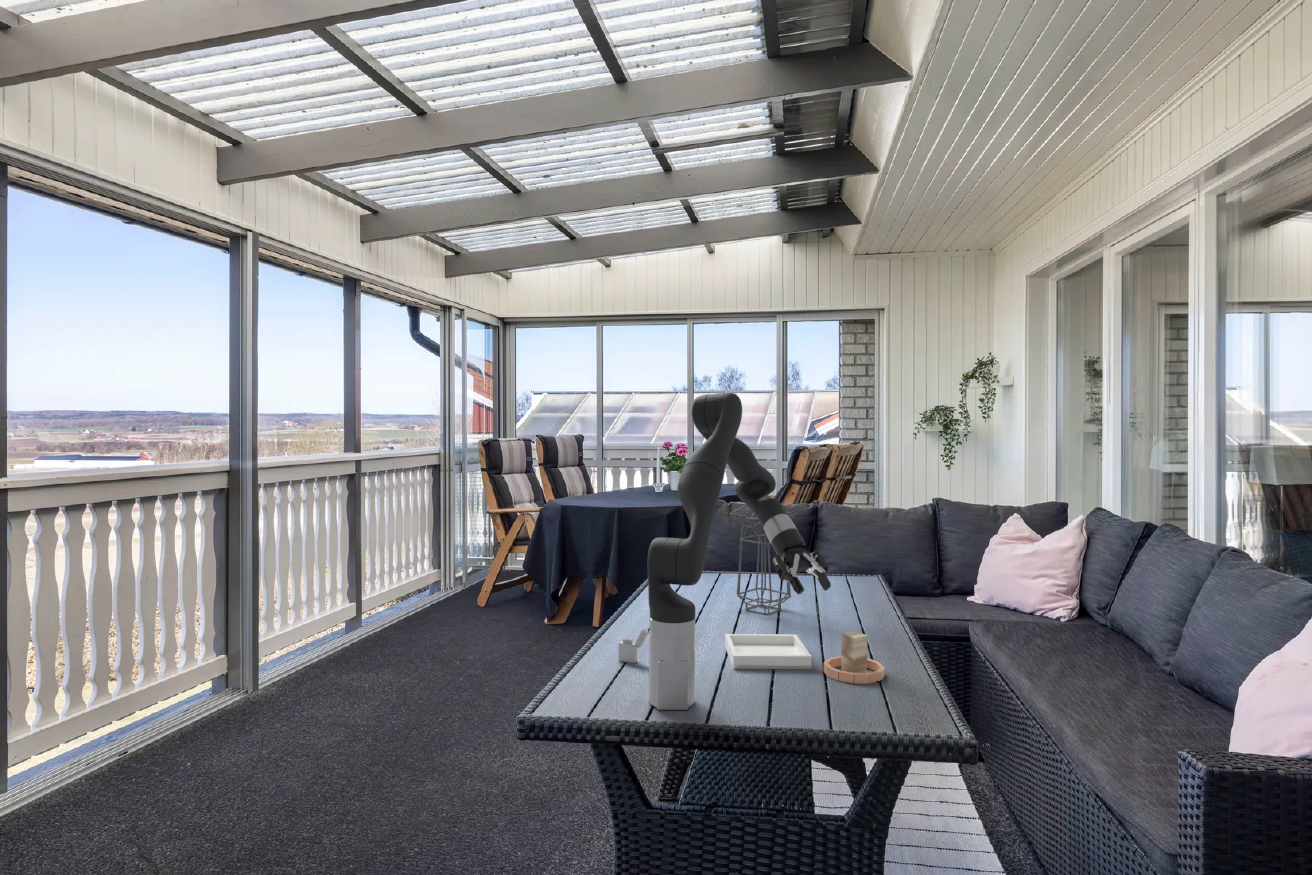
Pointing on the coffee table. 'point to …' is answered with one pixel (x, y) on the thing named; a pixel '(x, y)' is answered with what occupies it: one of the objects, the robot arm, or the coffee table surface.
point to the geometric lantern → (736, 515)
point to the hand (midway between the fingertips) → (814, 590)
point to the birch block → (854, 652)
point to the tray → (767, 651)
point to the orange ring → (854, 677)
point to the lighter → (631, 647)
